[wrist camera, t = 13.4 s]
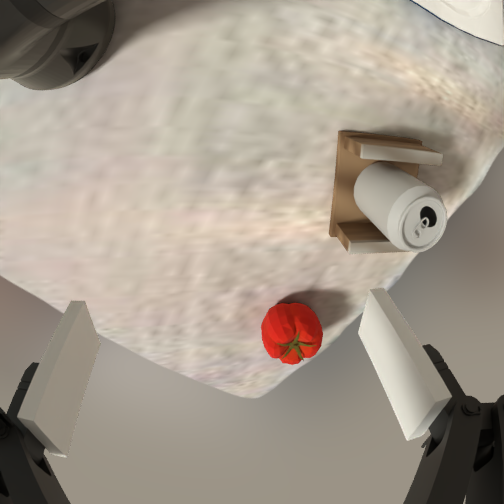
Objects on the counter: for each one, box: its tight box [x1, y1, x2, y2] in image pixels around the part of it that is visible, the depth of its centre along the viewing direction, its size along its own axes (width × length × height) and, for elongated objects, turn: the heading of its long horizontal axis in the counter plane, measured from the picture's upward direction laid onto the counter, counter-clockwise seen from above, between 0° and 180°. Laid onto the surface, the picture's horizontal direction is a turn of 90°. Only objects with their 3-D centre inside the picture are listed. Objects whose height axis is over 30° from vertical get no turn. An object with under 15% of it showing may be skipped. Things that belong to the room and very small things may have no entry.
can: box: [354, 162, 447, 252], centre depth 34 cm, size 8×8×12 cm
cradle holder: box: [329, 131, 443, 254], centre depth 37 cm, size 14×12×7 cm
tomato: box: [261, 303, 323, 365], centre depth 46 cm, size 9×9×8 cm
